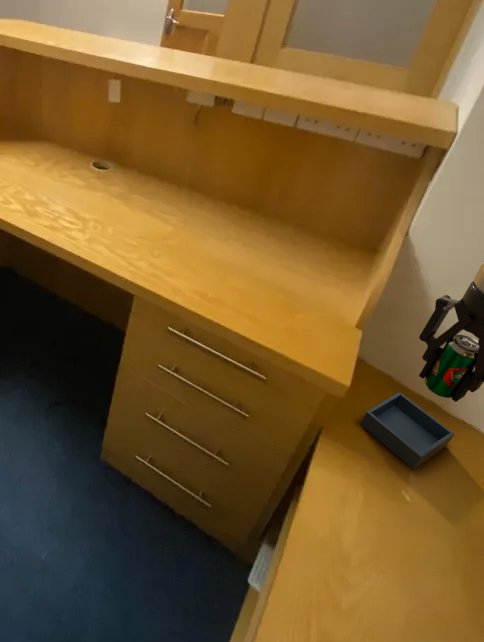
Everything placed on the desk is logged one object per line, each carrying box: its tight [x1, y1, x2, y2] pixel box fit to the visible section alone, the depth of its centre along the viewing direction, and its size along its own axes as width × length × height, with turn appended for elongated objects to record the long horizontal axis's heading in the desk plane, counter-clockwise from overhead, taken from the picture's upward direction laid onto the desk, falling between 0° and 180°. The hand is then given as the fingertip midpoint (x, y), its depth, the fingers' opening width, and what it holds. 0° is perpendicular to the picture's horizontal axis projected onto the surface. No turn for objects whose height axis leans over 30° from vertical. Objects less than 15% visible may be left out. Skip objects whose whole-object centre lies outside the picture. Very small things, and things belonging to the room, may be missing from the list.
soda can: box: [424, 334, 479, 399], centre depth 92 cm, size 5×5×12 cm
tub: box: [359, 391, 456, 470], centre depth 105 cm, size 11×11×4 cm
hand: (441, 385), depth 95 cm, fingers closed on soda can, 5 cm apart
